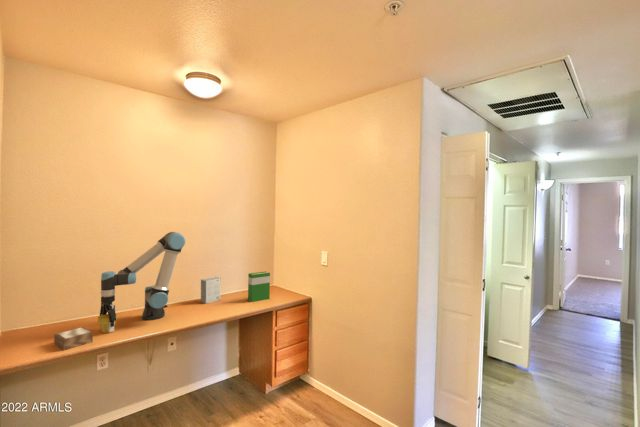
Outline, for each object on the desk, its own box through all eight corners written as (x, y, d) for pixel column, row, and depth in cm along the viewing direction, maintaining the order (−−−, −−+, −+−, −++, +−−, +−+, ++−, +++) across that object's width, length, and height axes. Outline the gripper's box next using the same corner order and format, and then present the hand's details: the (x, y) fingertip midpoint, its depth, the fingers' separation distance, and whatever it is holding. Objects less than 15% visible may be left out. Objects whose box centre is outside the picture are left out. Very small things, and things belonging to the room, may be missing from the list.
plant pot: (105, 327, 209) (105, 313, 208) (120, 328, 208) (120, 313, 208) (93, 333, 198) (94, 318, 198) (109, 334, 198) (109, 318, 198)
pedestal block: (82, 336, 193) (82, 326, 193) (92, 342, 186) (92, 331, 186) (54, 344, 181) (54, 333, 181) (63, 350, 174) (63, 339, 174)
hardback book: (265, 297, 290) (265, 271, 290) (269, 298, 284) (269, 272, 284) (248, 300, 279) (248, 273, 279) (251, 302, 273) (252, 274, 273)
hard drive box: (215, 298, 283) (215, 276, 283) (220, 299, 279) (221, 277, 279) (200, 302, 270) (200, 279, 270) (205, 303, 266) (205, 280, 266)
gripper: (93, 294, 206) (93, 327, 206) (109, 299, 194) (109, 335, 194) (106, 291, 212) (105, 324, 212) (122, 297, 200) (122, 331, 200)
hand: (107, 329), depth 203 cm, fingers closed on plant pot, 10 cm apart
